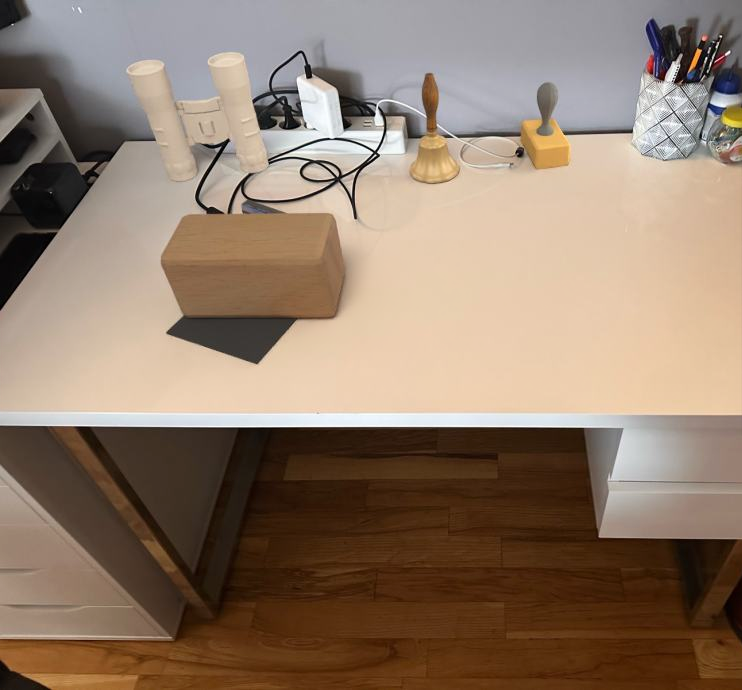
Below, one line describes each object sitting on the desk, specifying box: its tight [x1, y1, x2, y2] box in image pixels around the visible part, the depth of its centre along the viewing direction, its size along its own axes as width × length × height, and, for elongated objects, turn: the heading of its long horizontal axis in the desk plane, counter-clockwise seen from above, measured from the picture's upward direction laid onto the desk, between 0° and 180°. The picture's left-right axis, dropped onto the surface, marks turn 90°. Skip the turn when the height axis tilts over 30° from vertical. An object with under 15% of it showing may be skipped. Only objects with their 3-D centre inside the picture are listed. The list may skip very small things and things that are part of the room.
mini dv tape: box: [240, 199, 286, 214], centre depth 96 cm, size 8×2×6 cm, turn 60°
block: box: [160, 212, 346, 318], centre depth 86 cm, size 10×10×20 cm
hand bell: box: [408, 72, 460, 184], centre depth 106 cm, size 8×8×16 cm
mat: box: [165, 315, 299, 365], centre depth 87 cm, size 12×14×1 cm
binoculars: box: [126, 51, 269, 182], centre depth 107 cm, size 17×5×18 cm, turn 100°
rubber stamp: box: [520, 81, 571, 170], centre depth 110 cm, size 10×6×12 cm, turn 11°
